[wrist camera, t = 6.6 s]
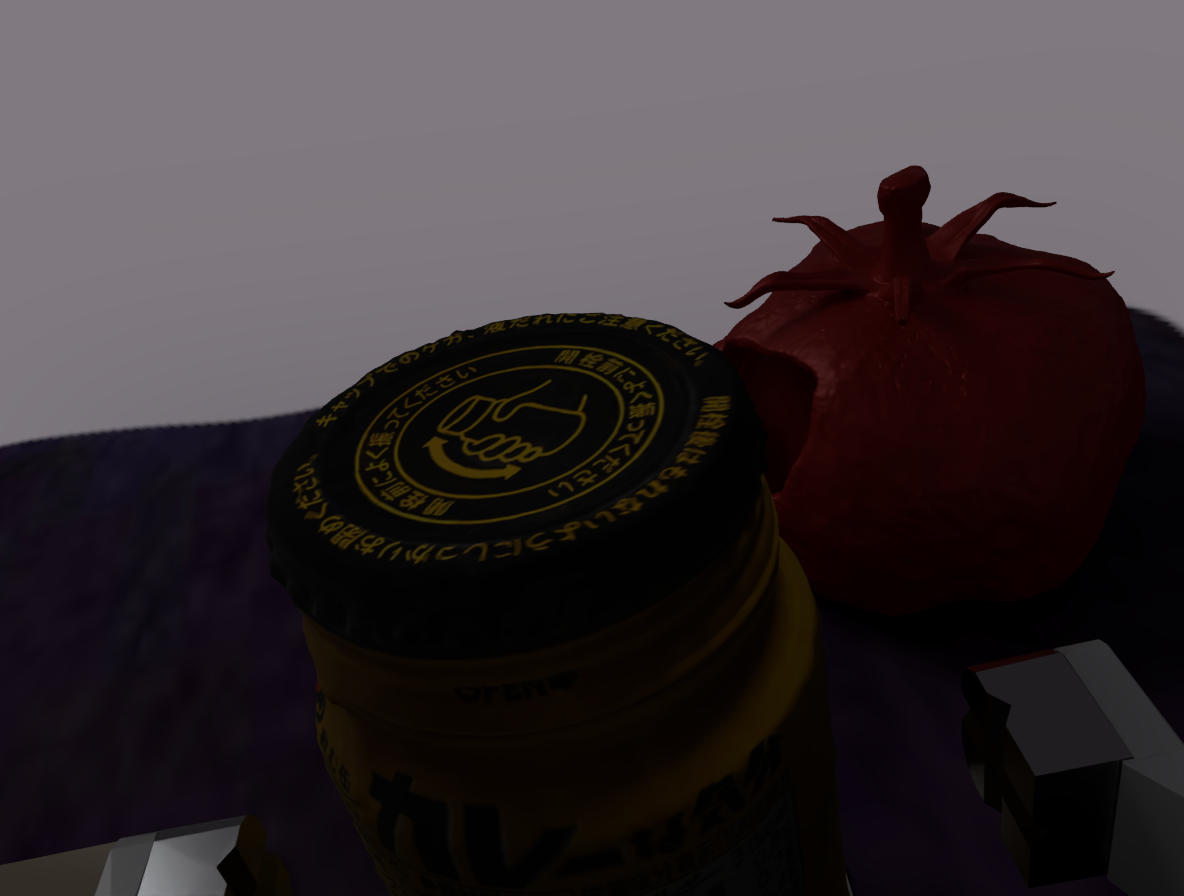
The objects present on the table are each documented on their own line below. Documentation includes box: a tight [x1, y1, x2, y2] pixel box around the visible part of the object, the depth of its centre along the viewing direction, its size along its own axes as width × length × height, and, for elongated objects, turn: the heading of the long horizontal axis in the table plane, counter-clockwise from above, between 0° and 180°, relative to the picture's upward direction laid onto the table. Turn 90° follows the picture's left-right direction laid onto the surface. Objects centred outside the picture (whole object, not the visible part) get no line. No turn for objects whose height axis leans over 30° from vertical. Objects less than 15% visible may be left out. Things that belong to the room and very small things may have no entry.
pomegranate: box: [713, 166, 1146, 616], centre depth 24 cm, size 10×10×9 cm
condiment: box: [266, 313, 853, 896], centre depth 13 cm, size 7×8×12 cm
